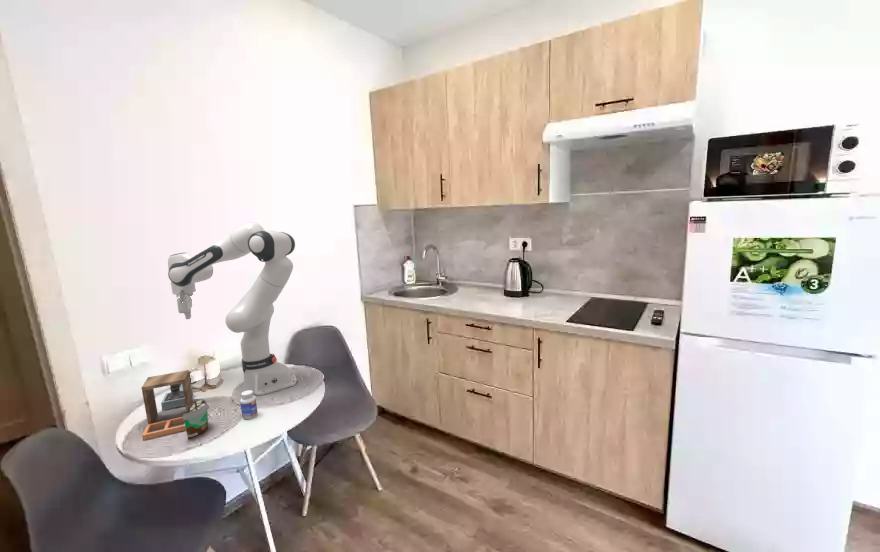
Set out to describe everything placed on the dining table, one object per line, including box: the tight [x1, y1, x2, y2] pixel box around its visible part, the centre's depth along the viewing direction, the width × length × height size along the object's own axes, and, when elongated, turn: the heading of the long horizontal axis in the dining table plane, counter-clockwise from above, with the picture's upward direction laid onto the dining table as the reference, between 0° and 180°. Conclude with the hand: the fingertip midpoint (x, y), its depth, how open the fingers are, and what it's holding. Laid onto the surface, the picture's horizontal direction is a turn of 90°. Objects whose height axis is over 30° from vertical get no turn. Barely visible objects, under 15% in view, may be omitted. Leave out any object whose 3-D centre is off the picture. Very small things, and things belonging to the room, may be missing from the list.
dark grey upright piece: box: [168, 384, 184, 401], centre depth 158 cm, size 6×6×12 cm
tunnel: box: [141, 369, 194, 425], centre depth 147 cm, size 13×10×16 cm
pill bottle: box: [239, 390, 258, 420], centre depth 146 cm, size 5×5×10 cm
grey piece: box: [160, 371, 195, 411], centre depth 167 cm, size 10×26×5 cm, turn 26°
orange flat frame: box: [141, 416, 186, 441], centre depth 140 cm, size 13×8×2 cm, turn 116°
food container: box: [182, 398, 210, 440], centre depth 138 cm, size 12×6×10 cm, turn 17°
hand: (188, 318), depth 175 cm, fingers closed
